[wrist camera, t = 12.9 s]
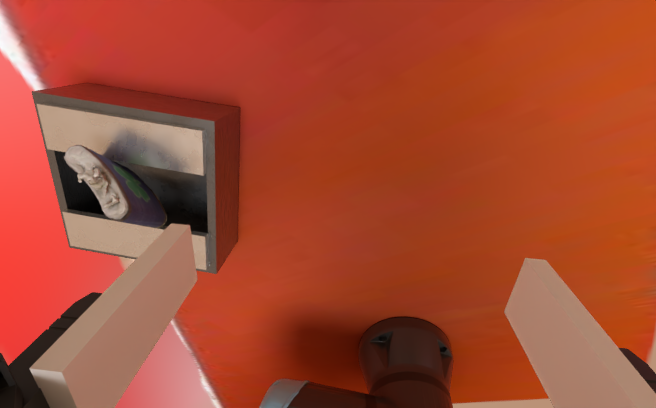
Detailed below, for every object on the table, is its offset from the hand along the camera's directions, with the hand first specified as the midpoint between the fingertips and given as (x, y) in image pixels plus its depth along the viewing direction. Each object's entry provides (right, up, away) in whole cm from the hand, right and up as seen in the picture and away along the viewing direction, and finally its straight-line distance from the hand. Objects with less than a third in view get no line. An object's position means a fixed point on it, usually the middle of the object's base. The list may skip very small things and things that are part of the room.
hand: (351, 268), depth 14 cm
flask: (-24, +3, +28) cm, 37 cm away
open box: (-23, +8, +34) cm, 42 cm away
